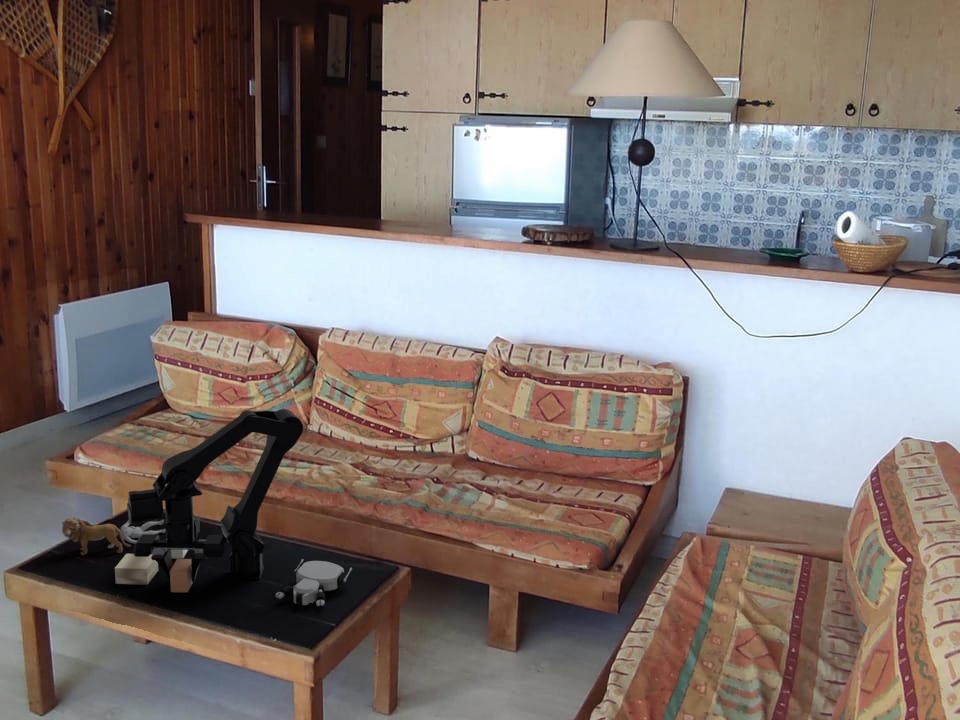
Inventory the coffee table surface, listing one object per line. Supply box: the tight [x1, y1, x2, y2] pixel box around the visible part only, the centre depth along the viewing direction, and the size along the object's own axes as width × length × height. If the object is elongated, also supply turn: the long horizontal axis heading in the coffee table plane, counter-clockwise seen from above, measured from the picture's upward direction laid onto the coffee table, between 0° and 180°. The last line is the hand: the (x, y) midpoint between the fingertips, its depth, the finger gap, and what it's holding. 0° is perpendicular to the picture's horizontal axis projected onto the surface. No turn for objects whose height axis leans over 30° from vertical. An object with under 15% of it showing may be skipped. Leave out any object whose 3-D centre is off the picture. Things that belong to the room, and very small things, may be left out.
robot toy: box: [275, 558, 353, 607], centre depth 203 cm, size 12×4×15 cm
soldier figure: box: [116, 519, 166, 545], centre depth 225 cm, size 8×5×12 cm
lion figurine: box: [61, 517, 132, 556], centre depth 217 cm, size 15×5×9 cm, turn 109°
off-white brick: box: [165, 538, 189, 559], centre depth 219 cm, size 4×6×5 cm, turn 3°
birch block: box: [114, 553, 159, 586], centre depth 207 cm, size 7×7×4 cm
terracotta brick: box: [169, 558, 194, 593], centre depth 203 cm, size 4×6×5 cm, turn 3°
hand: (182, 581), depth 204 cm, fingers open, 4 cm apart
